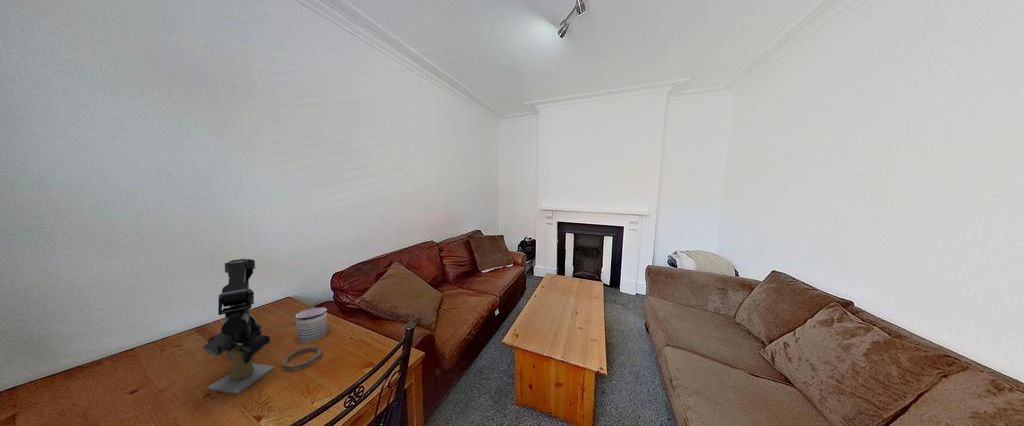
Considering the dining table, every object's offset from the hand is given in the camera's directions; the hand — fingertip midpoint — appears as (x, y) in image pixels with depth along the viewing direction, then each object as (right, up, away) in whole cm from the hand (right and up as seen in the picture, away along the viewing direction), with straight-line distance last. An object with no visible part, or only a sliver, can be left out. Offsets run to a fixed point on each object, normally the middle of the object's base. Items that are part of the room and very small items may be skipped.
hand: (241, 362), depth 90 cm
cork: (0, -5, 0) cm, 5 cm away
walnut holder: (+13, -6, +11) cm, 18 cm away
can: (+4, -4, +27) cm, 28 cm away
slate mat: (0, -6, +1) cm, 6 cm away
